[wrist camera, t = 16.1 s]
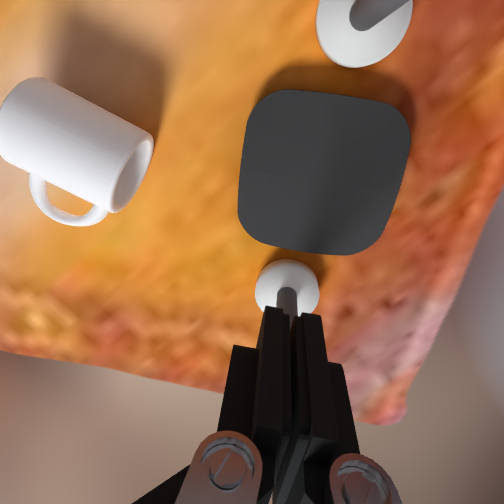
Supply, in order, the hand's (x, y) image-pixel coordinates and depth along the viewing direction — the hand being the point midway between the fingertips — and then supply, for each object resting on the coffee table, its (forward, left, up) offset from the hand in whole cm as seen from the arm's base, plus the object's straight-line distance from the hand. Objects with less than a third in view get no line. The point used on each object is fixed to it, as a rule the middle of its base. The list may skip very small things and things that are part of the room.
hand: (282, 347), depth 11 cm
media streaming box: (0, +3, -26) cm, 26 cm away
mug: (+3, -19, -26) cm, 32 cm away
